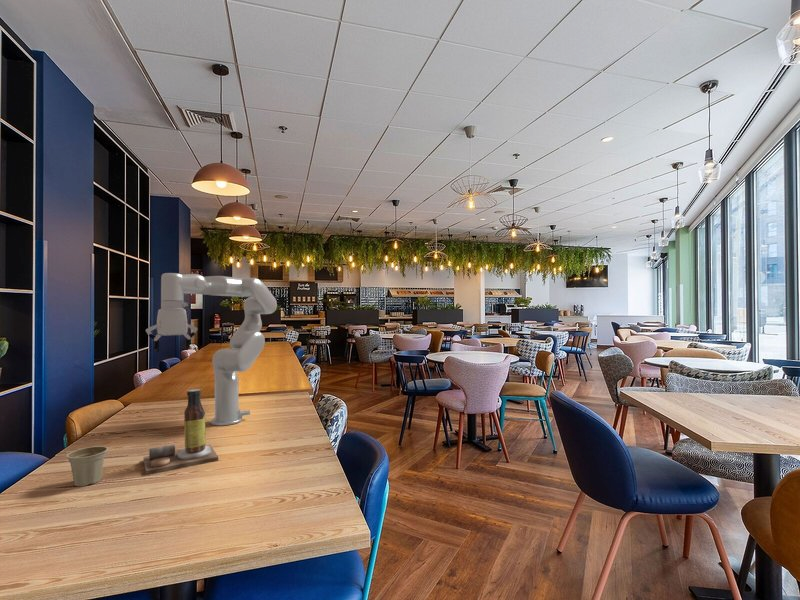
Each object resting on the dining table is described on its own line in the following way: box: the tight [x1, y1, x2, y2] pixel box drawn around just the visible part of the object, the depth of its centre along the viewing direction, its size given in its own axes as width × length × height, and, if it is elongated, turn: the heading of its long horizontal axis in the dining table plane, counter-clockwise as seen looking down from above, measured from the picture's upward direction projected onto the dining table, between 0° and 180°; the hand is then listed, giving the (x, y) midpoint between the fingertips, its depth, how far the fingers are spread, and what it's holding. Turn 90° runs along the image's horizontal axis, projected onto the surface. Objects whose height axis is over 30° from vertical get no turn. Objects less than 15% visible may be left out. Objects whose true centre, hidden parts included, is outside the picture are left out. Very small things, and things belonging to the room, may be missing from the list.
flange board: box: [143, 444, 219, 476], centre depth 133 cm, size 20×14×4 cm
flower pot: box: [66, 445, 109, 487], centre depth 117 cm, size 9×9×9 cm
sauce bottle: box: [183, 388, 207, 453], centre depth 136 cm, size 7×6×20 cm
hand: (172, 350), depth 156 cm, fingers open, 9 cm apart
